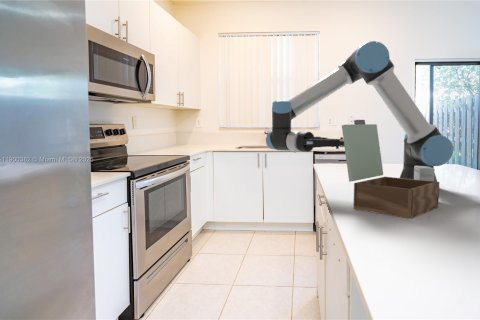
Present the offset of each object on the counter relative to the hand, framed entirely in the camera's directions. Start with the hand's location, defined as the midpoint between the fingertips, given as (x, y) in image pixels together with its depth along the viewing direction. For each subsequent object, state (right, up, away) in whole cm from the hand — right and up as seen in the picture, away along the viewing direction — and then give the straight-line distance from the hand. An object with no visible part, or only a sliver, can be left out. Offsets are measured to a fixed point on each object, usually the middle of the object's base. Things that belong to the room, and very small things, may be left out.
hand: (357, 143), depth 133 cm
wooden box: (+10, -21, -7) cm, 24 cm away
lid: (+2, -2, -1) cm, 3 cm away
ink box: (+24, -20, +5) cm, 32 cm away
